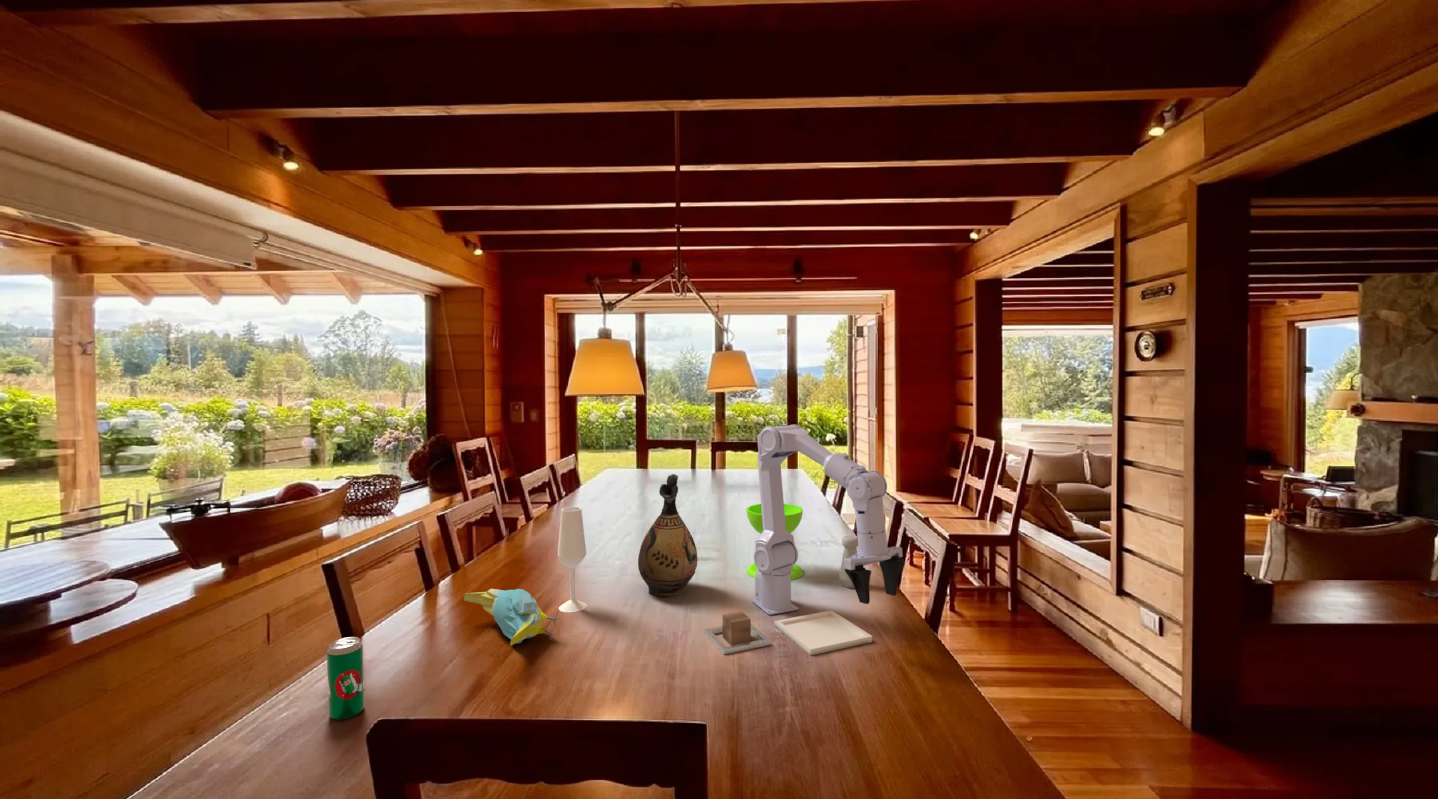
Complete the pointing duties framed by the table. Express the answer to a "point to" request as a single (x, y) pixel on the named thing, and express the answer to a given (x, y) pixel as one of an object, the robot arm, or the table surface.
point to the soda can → (345, 678)
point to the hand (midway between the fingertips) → (878, 598)
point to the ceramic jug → (668, 548)
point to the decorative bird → (513, 612)
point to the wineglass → (792, 521)
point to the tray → (822, 632)
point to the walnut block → (736, 628)
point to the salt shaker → (849, 551)
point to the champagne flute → (571, 551)
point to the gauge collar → (740, 647)
